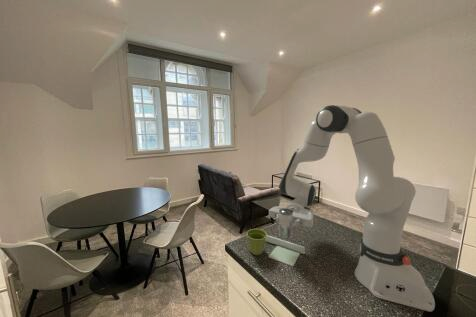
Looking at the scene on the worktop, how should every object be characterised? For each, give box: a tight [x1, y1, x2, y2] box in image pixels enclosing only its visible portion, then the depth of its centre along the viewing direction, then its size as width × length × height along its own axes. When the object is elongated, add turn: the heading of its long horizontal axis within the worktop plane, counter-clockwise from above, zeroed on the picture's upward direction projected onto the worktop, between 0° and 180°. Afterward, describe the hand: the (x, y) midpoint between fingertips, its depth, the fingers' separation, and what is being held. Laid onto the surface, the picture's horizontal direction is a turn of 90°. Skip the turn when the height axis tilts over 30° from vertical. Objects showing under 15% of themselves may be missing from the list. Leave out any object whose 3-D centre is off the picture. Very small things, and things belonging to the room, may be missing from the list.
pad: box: [268, 245, 301, 267], centre depth 87 cm, size 11×10×1 cm
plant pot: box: [246, 228, 268, 256], centre depth 90 cm, size 9×9×9 cm
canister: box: [278, 207, 293, 239], centre depth 85 cm, size 6×6×11 cm
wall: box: [265, 234, 306, 255], centre depth 94 cm, size 20×1×3 cm, turn 57°
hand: (284, 222), depth 85 cm, fingers closed on canister, 6 cm apart
